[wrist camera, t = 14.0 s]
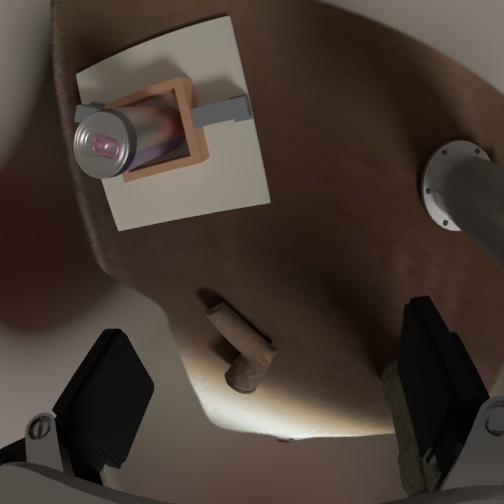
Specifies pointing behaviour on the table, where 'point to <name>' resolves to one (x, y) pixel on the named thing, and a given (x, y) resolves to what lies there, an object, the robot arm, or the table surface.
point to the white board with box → (194, 121)
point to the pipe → (242, 349)
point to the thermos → (406, 437)
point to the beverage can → (126, 138)
